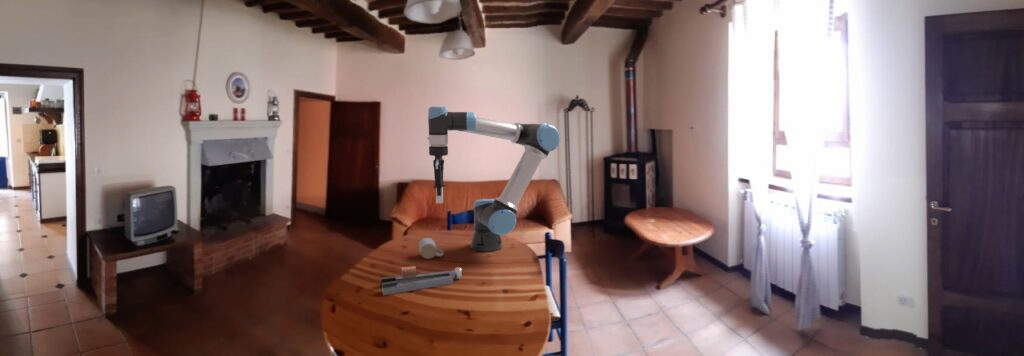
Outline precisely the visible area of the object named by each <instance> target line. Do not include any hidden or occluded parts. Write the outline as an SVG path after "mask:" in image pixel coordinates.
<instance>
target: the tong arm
mask: <svg viewBox="0 0 1024 356" xmlns="http://www.w3.org/2000/svg"><path fill="white" fill-rule="evenodd" d="M462 269H463V268H462V267H459V266H458V267H455V268H454V270H446V271H445V270H444V271H437V272H436V271H435V272H429V273H420V274H419V273H418V274H417V267H416V266H415V265H414V266H413V265H412V266H404V267H403V266H402V267H401V276H396V275H394V276H393V275H392V276H384V277H381V278H380V283H381V288H382V283H385V282H391V281H397V284H401V283H407V282H414V281H420V280H426V279H432V278H438V277H444V276H451V275H452V277H453V279H455V280H461V279H462V277H463V275H462V274H463V271H462Z"/></svg>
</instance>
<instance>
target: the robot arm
mask: <svg viewBox="0 0 1024 356" xmlns="http://www.w3.org/2000/svg"><path fill="white" fill-rule="evenodd" d="M427 111H428V112H427V113H428V116H427V120H428V121H427V122H428V123H427V124H428V136H427V138H426V139H427V140H428V145H429V146H428V155H429V156H432V157H434V159H433V160H432V162H433V171H434V172H433V173H434V185H433V188H434V189H435V204H443V203H444V187H445V184H444V169H445V167H444V164H445V159H443V156H445V157H446V156H448V155H449V147H448V144H449V135H448V133H449V131H451V132H452V131H458V132H463V133H469V134H475V135H479V136H480V135H481V136H485V137H491V138H496V139H501V140H506V141H507V140H508V141H510V142H511V143H513V144H518V145H521V146H523V148H524V152H523V153H522V156H521V157H520V159H519V161H518V163H517V164H516V166H515V169H514V170H513V172H512V174H511V176H510V178H509V179H508V181H507V183H506V185H505V187H504V188H503V190H502V192H501V194H500V195H499V197H496V198H483V199H477V200H475V201H474V203H473V228H474V230H473V235H472V238H471V240H470V248H471V249H472V250H473V251H477V252H495V251H499V250H501V249H502V248H503V239H502V237H501V236H505V235H508V234H510V233H512V231H513V230H514V229H515V227H516V224H517V213H518V212H519V210H518V209H519V208H518V204H519V203H520V201H521V199H522V197H523V195H524V193H525V192H526V190H527V188H528V186H529V185H530V182H531V180H532V178H533V177H534V175H535V173H536V171H537V170H538V167H539V165H540V164H541V162H542V160H544V159H547V158H548V156H549V154H550V152H552V151H554V150H556V149H557V147H558V146H559V144H560V142H561V137H560V132H559V130H558V129H557V128H556V126H554V125H551V124H549V123H520V122H515V123H508V122H504V121H497V120H492V119H489V118H488V119H487V118H483V117H479V116H478V117H477V115H476V114H475V112H471V111H470V112H469V111H448V108H447V106H430V107H429V108H428V109H427Z"/></svg>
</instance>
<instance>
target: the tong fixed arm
mask: <svg viewBox="0 0 1024 356" xmlns="http://www.w3.org/2000/svg"><path fill="white" fill-rule="evenodd" d="M452 284H454V278H453V277H452V275H451V276H444V277H438V278H432V279H426V280H420V281H414V282H407V283H401V284H397V281H391V282H385V283H382V287H381V292H382V295H383V296H388V295H389V296H390V295H394V294H401V293H406V292H407V293H408V292H411V291H412V292H413V291H417V290H425V289H429V288H435V287H436V288H437V287H440V286H447V285H452Z"/></svg>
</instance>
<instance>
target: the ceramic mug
mask: <svg viewBox="0 0 1024 356" xmlns="http://www.w3.org/2000/svg"><path fill="white" fill-rule="evenodd" d="M418 251H419V254H420V256H421V257H422V258H424V259H426V260H431V259H433V258H435V257H436V256H437V257H443V256H444V253H445V252H444V251H443V250H441V249H440V248H438V247H437V244H436V242H435V240H434V239H433V238H430V237H425V238H422V239H421V240H420V241H419V243H418Z"/></svg>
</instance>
